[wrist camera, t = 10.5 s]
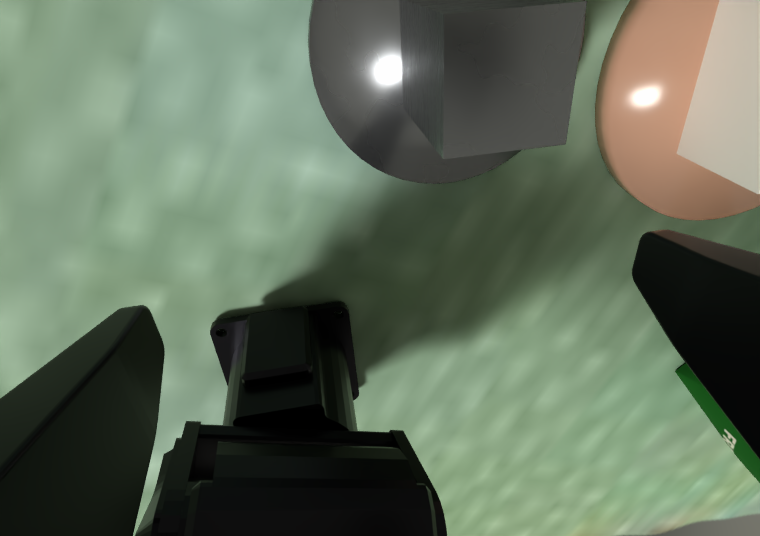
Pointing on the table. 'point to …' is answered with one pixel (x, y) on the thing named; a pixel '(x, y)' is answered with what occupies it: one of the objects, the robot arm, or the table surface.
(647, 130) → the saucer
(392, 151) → the grey rounded piece
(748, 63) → the cream colored cube
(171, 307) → the table surface
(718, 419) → the milk carton
